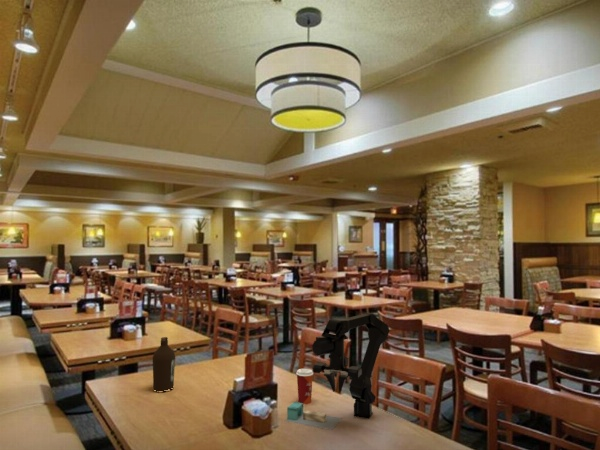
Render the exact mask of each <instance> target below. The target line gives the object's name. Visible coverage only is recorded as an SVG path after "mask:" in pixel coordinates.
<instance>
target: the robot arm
mask: <svg viewBox="0 0 600 450" xmlns="http://www.w3.org/2000/svg"><path fill="white" fill-rule="evenodd" d="M362 326H365V327H366V328H367V330H368V331H367V335H368V343H367V347H366V350H365V353H364V356H363V358H362V363H361V365H360V366H357V365H356V366H355V365H351V366H350V367H349V368H347V367H348V366H349V360H350V359H349V357H346V353H345V340H348V339H349V337H348V336H347V335H346V334H348V333H349V331H350V330H351V329H355V328H359V327H362ZM389 334H390V327H389V325H388V324H387V323H385V322H384V321H383V320H381V319H380V318H378V317H377V316H376V315H375V314H374V313H369V312H364V313H362V314H358V315H355V316H349V317H346V318H329V319H328V322H327V324H326V325H325V327H324V329H323V331H322V333H321V336H316V337H315V340H314V341H313V343H312V347H311V348H312V351H313V353H314V355H315V356H317V357H319V356H323V355H328V359H329V365H327V363H326V362H320V361H317V362H316V363H315V364H313V365H312V372H313V374H314V373H315V374H321V373H322V371H324V374H323V376H324V377H325V378H326V379H327V381H328V384H329V385H330V387H331V390H332V392H335V391H336V381H335V380H336V379H335V378H336V377H335V376H336V373H340V375H338V393H339V394H340V393H342V390H343V387H344V384H345V380H346V379H348V378H351V381H350V383H349V384H348V385H349V388H348V389H349V393H350V395H351V398H352V399H354V403H353V417H355V418H361V419H368V420H369V419H370V418H371V417H372V415H373V414H374V412H372V409H373V408H372V407H373V405H372V404H373V403H375V401H376V399H377V397H376V395H375V394H374V393H373V392H372V387H373V386H372V381H371V377H372V373H373V370H374V368H375V364H376V361H377V357H378V354H379V351H380V347H381V345H383V343H384V342H385V341H387V338H388V336H389Z"/></svg>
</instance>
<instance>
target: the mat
mask: <svg viewBox="0 0 600 450" xmlns="http://www.w3.org/2000/svg"><path fill="white" fill-rule="evenodd" d="M342 419H343V418H342V417H337V416H332V415H327V414H326V421H325V422H324V423H322V422H316V421H310V420H305V419H303V415H298V419H297V420H292V419H287V418H286V419H285V420H284V422H286V423H293V424H297V425H301V426H302V425H303V426H308V427H314V428H318V429H319V428H320V429H326V430H331V431H332V430H334V428H335V427H336V426H337V425H338V424H339V423H340V421H341V420H342Z"/></svg>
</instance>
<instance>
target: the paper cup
mask: <svg viewBox="0 0 600 450" xmlns="http://www.w3.org/2000/svg"><path fill="white" fill-rule="evenodd" d="M313 377H314V372H313V369H312V368H311V369H310V368H299V369H297V371H296V379H297V380H296V381H297V398H298V400H297V401H298V403H303V405H307V404H311V402H312V395H313V394H312V393H313V392H312V391H313Z"/></svg>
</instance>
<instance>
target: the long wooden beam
mask: <svg viewBox="0 0 600 450" xmlns="http://www.w3.org/2000/svg"><path fill="white" fill-rule="evenodd" d="M326 415H327V413H323V412H319V411H312V410H307V409H306V410H303V419H305V420H310V421H316V422H322V423H324V422H325V421H326Z"/></svg>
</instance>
